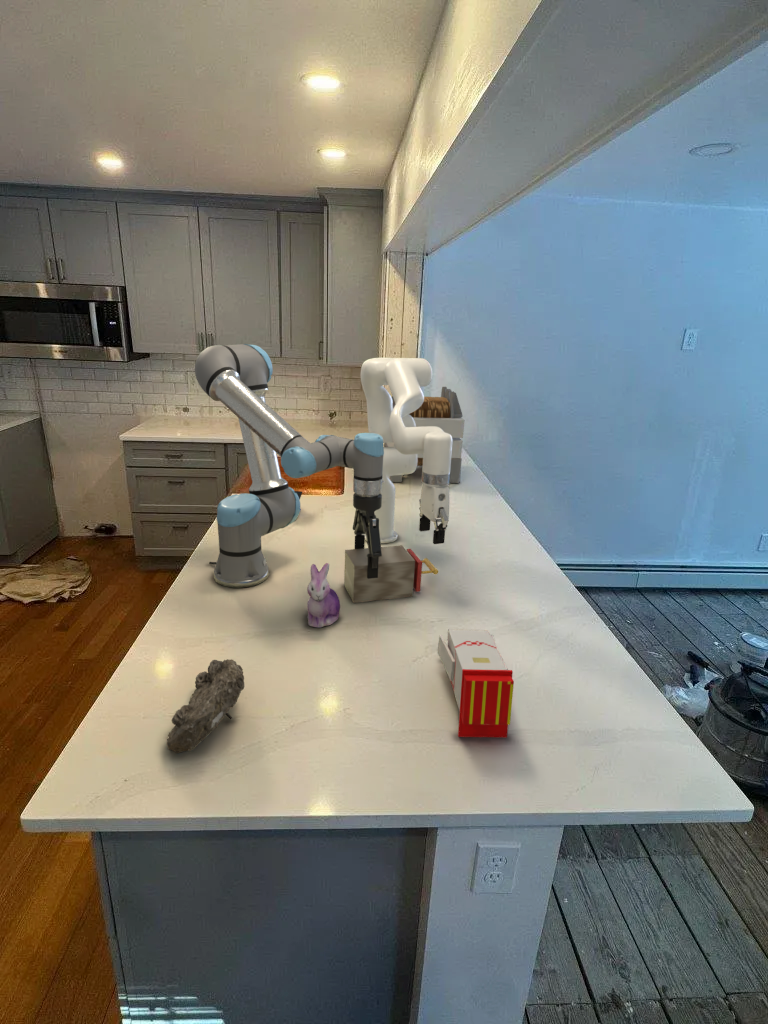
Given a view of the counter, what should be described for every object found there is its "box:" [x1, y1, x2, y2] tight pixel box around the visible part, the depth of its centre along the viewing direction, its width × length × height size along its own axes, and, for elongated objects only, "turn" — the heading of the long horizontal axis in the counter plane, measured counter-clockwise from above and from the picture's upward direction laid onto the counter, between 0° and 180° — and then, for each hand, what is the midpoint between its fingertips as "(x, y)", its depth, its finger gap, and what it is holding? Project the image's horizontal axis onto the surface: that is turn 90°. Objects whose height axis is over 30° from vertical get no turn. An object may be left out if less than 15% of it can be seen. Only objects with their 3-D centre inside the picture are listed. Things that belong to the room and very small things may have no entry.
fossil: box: [166, 658, 245, 754], centre depth 106 cm, size 22×10×15 cm
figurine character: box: [294, 490, 303, 511], centre depth 212 cm, size 7×8×15 cm
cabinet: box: [343, 544, 415, 604], centre depth 157 cm, size 17×11×11 cm, turn 107°
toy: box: [437, 628, 515, 738], centre depth 117 cm, size 12×13×30 cm
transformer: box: [383, 386, 465, 484], centre depth 268 cm, size 34×33×41 cm
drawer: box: [406, 548, 439, 593], centre depth 159 cm, size 21×10×9 cm, turn 107°
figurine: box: [306, 562, 341, 628], centre depth 141 cm, size 9×10×15 cm
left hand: (365, 567), depth 155 cm, fingers open, 13 cm apart
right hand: (431, 536), depth 159 cm, fingers open, 9 cm apart
